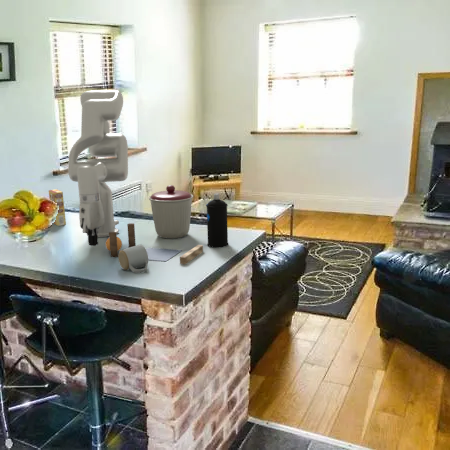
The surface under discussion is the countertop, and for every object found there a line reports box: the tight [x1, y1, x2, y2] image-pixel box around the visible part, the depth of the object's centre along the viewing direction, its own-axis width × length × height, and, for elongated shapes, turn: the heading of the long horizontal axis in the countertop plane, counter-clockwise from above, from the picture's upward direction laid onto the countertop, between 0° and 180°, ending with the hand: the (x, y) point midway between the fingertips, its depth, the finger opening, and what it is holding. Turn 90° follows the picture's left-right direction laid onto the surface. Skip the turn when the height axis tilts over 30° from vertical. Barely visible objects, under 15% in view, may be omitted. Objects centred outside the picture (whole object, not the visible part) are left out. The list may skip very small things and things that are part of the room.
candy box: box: [48, 188, 67, 227], centre depth 254 cm, size 9×4×15 cm, turn 33°
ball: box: [105, 236, 123, 252], centre depth 209 cm, size 6×6×6 cm
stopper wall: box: [179, 244, 204, 265], centre depth 200 cm, size 16×2×2 cm, turn 160°
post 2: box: [127, 222, 137, 248], centre depth 215 cm, size 3×3×9 cm
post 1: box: [108, 232, 119, 258], centre depth 203 cm, size 3×3×9 cm
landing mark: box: [145, 246, 183, 262], centre depth 205 cm, size 14×14×1 cm
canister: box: [148, 184, 194, 240], centre depth 228 cm, size 18×18×21 cm
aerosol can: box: [205, 193, 229, 249], centre depth 213 cm, size 8×8×20 cm
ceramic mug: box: [117, 244, 149, 274], centre depth 188 cm, size 11×8×8 cm
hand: (93, 244), depth 214 cm, fingers closed
